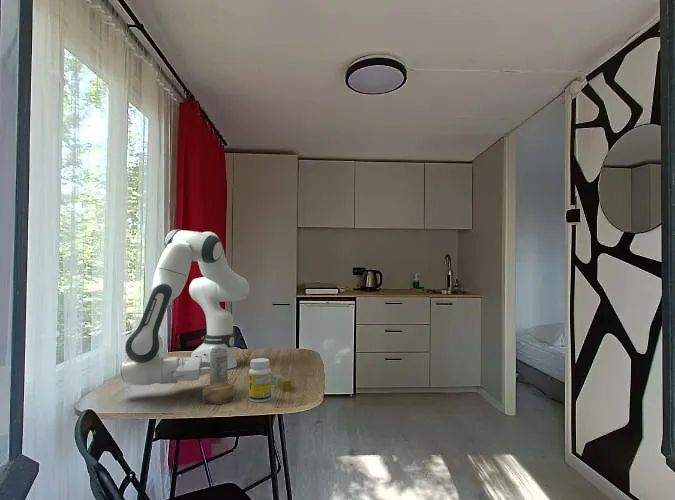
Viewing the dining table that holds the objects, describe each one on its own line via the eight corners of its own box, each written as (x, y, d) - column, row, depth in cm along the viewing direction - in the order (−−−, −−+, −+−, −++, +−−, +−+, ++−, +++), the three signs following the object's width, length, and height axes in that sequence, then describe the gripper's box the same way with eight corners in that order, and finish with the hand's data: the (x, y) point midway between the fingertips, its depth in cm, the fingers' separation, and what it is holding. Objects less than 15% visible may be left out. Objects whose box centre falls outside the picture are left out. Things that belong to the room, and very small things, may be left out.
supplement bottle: (250, 396, 157) (249, 357, 158) (272, 395, 158) (271, 357, 158) (248, 403, 150) (247, 362, 150) (271, 402, 151) (270, 361, 151)
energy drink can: (222, 387, 169) (221, 345, 170) (231, 390, 165) (230, 347, 165) (207, 391, 165) (206, 348, 165) (215, 394, 161) (215, 350, 161)
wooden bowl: (196, 402, 152) (196, 389, 152) (214, 394, 161) (214, 381, 161) (222, 405, 148) (222, 391, 148) (240, 396, 158) (240, 383, 158)
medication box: (271, 385, 173) (270, 374, 173) (277, 383, 174) (277, 372, 174) (284, 392, 162) (283, 381, 162) (291, 391, 164) (290, 379, 164)
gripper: (168, 367, 152) (213, 364, 155) (175, 355, 172) (214, 352, 175) (169, 387, 152) (213, 383, 155) (175, 372, 171) (215, 369, 175)
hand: (214, 367), depth 165 cm, fingers open, 8 cm apart
